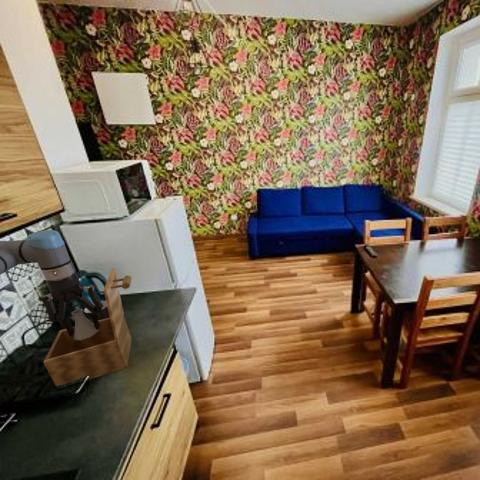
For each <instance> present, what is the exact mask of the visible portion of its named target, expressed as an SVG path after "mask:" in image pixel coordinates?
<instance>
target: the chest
mask: <svg viewBox="0 0 480 480" xmlns="http://www.w3.org/2000/svg"><path fill="white" fill-rule="evenodd" d="M92 323H93V322H92ZM99 323H100V326H99V329H98V332H97V333H95V334H94V335H92V336H91V337H88V338H86V339H83V340H76V339H74V334H73V336H69V334H68V332H67V330H66V328H65V329H60V330H59V331H58V333H57V334H56V337H55V339H54V341H53V342H52V345H50V346H51V347H50V348H49V351H48V352H47V354H46V356H45V358H44V361H42V363H43V365H44V367H45V369H46V370H47V372H48V374H49V376H50V378H51V379H52V382H53V383H54V385H55V387H56V386H59V385H63V384H67V383H70V382H72V381H75V380H78V379H80V378H83V377H85V376H89V380H88V381H90V380H93V379H96V378H99V377H103V376H105V375H108V374H111V373H114V372H117V371H120V370H123V369H127V368H128V365H129V360H130V359H129V358H130V351H131V346H132V336H131V333H130V331H129V327H128V324H127V322H126V318H125V316H124V315H123V319H122V323H121V328H120V332H119V337H118V340H115V337H114V333H113V329H112V324H111V320H110V318H107V319H103V320H99ZM72 327H73V329H74V332H75V326H72Z"/></svg>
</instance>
